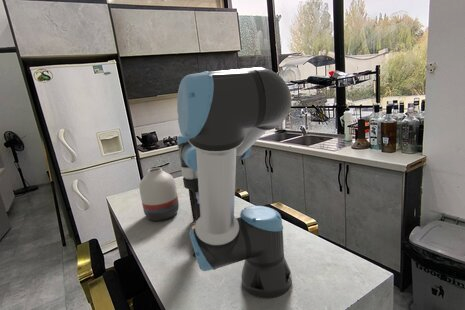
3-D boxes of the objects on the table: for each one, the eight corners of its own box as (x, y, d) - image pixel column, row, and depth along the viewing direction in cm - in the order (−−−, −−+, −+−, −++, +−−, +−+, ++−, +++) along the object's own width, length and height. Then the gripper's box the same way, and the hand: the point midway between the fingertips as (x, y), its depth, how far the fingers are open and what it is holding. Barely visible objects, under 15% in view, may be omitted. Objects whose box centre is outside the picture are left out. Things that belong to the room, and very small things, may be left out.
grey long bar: (206, 253, 102) (205, 246, 102) (193, 256, 102) (192, 248, 101) (201, 227, 122) (200, 220, 121) (190, 229, 121) (189, 222, 120)
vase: (154, 227, 127) (145, 178, 121) (139, 216, 139) (130, 171, 134) (186, 213, 137) (179, 167, 131) (169, 204, 150) (162, 162, 144)
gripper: (206, 179, 97) (214, 239, 103) (199, 169, 109) (207, 223, 115) (185, 183, 95) (194, 244, 101) (180, 172, 107) (189, 227, 113)
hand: (201, 233), depth 108 cm, fingers closed
